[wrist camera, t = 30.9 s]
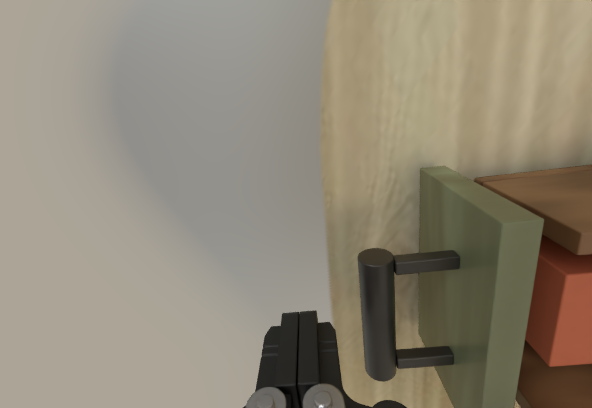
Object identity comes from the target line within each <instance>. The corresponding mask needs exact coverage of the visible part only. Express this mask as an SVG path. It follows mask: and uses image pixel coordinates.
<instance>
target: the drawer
mask: <svg viewBox="0 0 592 408" xmlns="http://www.w3.org/2000/svg"><path fill="white" fill-rule="evenodd" d="M542 234H543V235H544V236H546V237H548V238H549V239H551V240H553V241H554V242H556V243H558V244H559V245H561V246H563V247H564V248H566V249H568V250H569V251H571V252H573V253H574V254H576V255H588V254H592V165H585V166H576V167H567V168H558V169H549V170H541V171H532V172H523V173H514V174H505V175H496V176H488V177H479V178H475V179H474V181H472V180H470V179H468V178H466V177H464V176H462V175H461V174H459V173H457V172H455V171H453V170H451V169H449V168H447V167H446V166H437V167H429V168H421V169H420V239H419V253H416V254H406V255H396V256H393V255H392V253H391V252H389V251H387V250H384V249H379V248H372V249H367V250H364V251H362V252H361V253H360V254H359V255H358V268H359V283H360V298H361V313H362V328H363V342H364V357H365V369H366V372H367V373H368V375H369V376H370V377H371V378H373V379H375V380H377V381H388V380H390V379H392V378H393V377H394V376H395V374H396V366H397V368H398V369H404V368H418V367H431V366H435V369H436V371H437V373H438V375H439V377H440V379H441V381H442V383H443V386H444V388H445V390H446V392H447V394H448V396H449V398H450V400H451V402H452V405H453V407H454V408H514V405H515V399H516V401H517V402H518V404H519V405H520V407H521V408H592V364H581V365H567V366H554V367H550V366H548V365H547V364H546V362H545V361H544V360H543V359H542V358H541V357H540V356H539V355H538V353H537V352H536V351H535V350H534V349H533V348H532V347H531V346H530V344H529V343H528V342H527V341H526V340H525V336H526V330H527V324H528V318H529V312H530V305H531V299H532V293H533V287H534V281H535V274H536V268H537V262H538V256H539V250H540V243H541V237H542ZM394 272H395V274H396V275H402V274H413V273H419V335H420V337H421V339H422V341H423V343H424V345H425V347H424V348H412V349H399V350H396V332H395V286H394Z"/></svg>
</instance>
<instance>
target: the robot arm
mask: <svg viewBox="0 0 592 408" xmlns="http://www.w3.org/2000/svg"><path fill="white" fill-rule="evenodd" d="M243 408H406V407H405V406H404V405H402V404H401V403H399V402H396V401H392V400H384V401H380V402H378V403H377V404H375V405H374V406H373V407H369V406H365V405H362V404H359V403H357V402H355V401H353V400H352V399H351V398H349V397H348V395H347V394H346V393H345V391H344V389H343V387H342V381H341V373H340V364H339V356H338V348H337V339H336V331H335V329H334V328H333V326H332V325H331V323H330V322H324V323H318V318H317V312H316V311H304V312H300V314H299V312H293V313H283V314H282V321H281V326H273V327H271V328H270V329H269V331H268V332H267V334H266V335H265V338H264V344H263V350H262V357H261V362H260V368H259V374H258V379H257V385H256V390H255V393H254V394H253V395H252V396H251V397H250V399H249V400H248V402H247V404H246V406H245V407H243Z"/></svg>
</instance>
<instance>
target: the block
mask: <svg viewBox="0 0 592 408" xmlns="http://www.w3.org/2000/svg"><path fill="white" fill-rule="evenodd" d="M525 340H526V341H527V342H528V343H529V344H530V346H531V347H532V348H533V349H534V350H535V351H536V352H537V353H538V355H539V356H540V357H541V358H542V359H543V360H544V361H545V362H546V364H547V365H548V366H550V367H554V366H567V365H581V364H592V254H588V255H576V254H574V253H573V252H571V251H569V250H568V249H566V248H564V247H563V246H561V245H559V244H558V243H556V242H554V241H553V240H551V239H549V238H548V237H546V236H544V235H543V234H542V237H541V243H540V250H539V256H538V262H537V268H536V274H535V281H534V287H533V293H532V299H531V305H530V312H529V318H528V324H527V330H526V336H525Z"/></svg>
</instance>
